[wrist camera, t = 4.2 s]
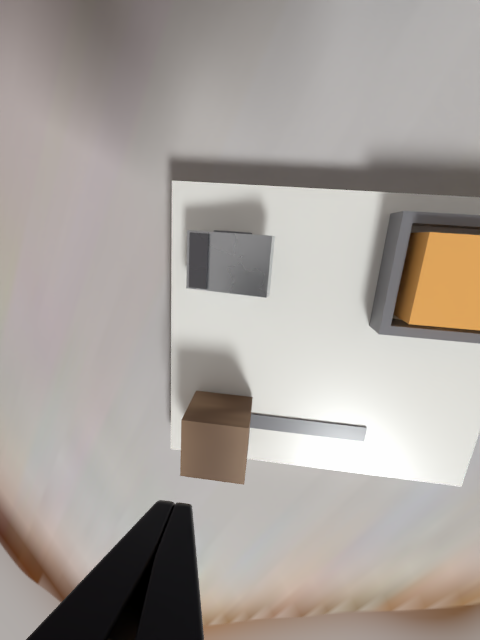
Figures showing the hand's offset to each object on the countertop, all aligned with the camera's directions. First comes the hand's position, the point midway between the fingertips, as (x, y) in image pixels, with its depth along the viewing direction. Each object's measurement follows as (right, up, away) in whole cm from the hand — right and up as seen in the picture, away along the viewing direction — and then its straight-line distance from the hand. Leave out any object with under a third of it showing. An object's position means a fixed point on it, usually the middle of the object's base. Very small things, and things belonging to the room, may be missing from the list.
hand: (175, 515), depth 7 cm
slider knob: (0, -2, +12) cm, 12 cm away
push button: (+12, +7, +8) cm, 16 cm away
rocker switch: (+1, +8, +8) cm, 11 cm away
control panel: (+7, +4, +12) cm, 14 cm away
